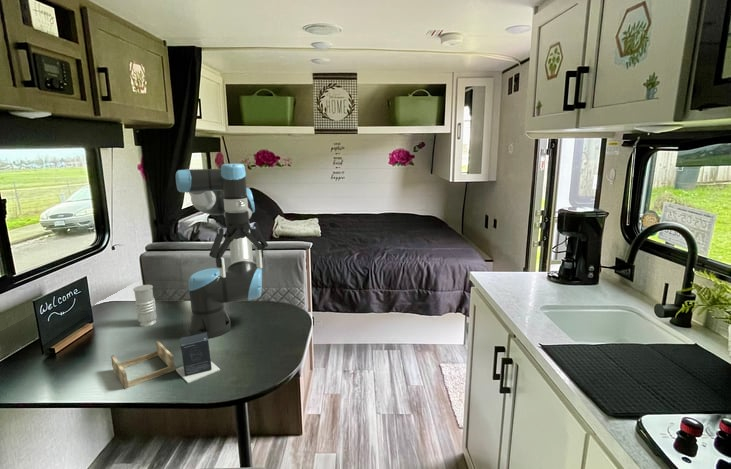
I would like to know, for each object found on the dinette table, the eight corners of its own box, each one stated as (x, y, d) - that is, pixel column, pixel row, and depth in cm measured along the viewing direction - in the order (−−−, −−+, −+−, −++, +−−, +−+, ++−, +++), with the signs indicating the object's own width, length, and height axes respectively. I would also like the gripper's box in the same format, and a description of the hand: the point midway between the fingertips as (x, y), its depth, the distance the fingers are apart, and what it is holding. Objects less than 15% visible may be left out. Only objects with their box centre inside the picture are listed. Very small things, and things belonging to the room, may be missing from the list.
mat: (175, 370, 126) (175, 369, 126) (206, 358, 133) (206, 357, 133) (187, 383, 119) (187, 382, 119) (220, 370, 126) (220, 369, 126)
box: (210, 361, 130) (206, 331, 128) (212, 370, 125) (208, 339, 123) (183, 367, 127) (179, 337, 124) (184, 376, 122) (180, 345, 119)
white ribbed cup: (161, 321, 161) (156, 286, 158) (144, 328, 156) (139, 292, 152) (151, 317, 165) (147, 283, 162) (134, 324, 159) (129, 288, 156)
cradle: (113, 370, 127) (110, 355, 126) (160, 353, 136) (158, 340, 135) (125, 388, 117) (123, 373, 116) (175, 369, 126) (173, 355, 125)
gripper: (204, 217, 121) (211, 283, 126) (275, 207, 138) (279, 266, 143) (194, 214, 127) (201, 277, 131) (264, 205, 144) (267, 261, 148)
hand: (241, 271), depth 137 cm, fingers open, 13 cm apart
